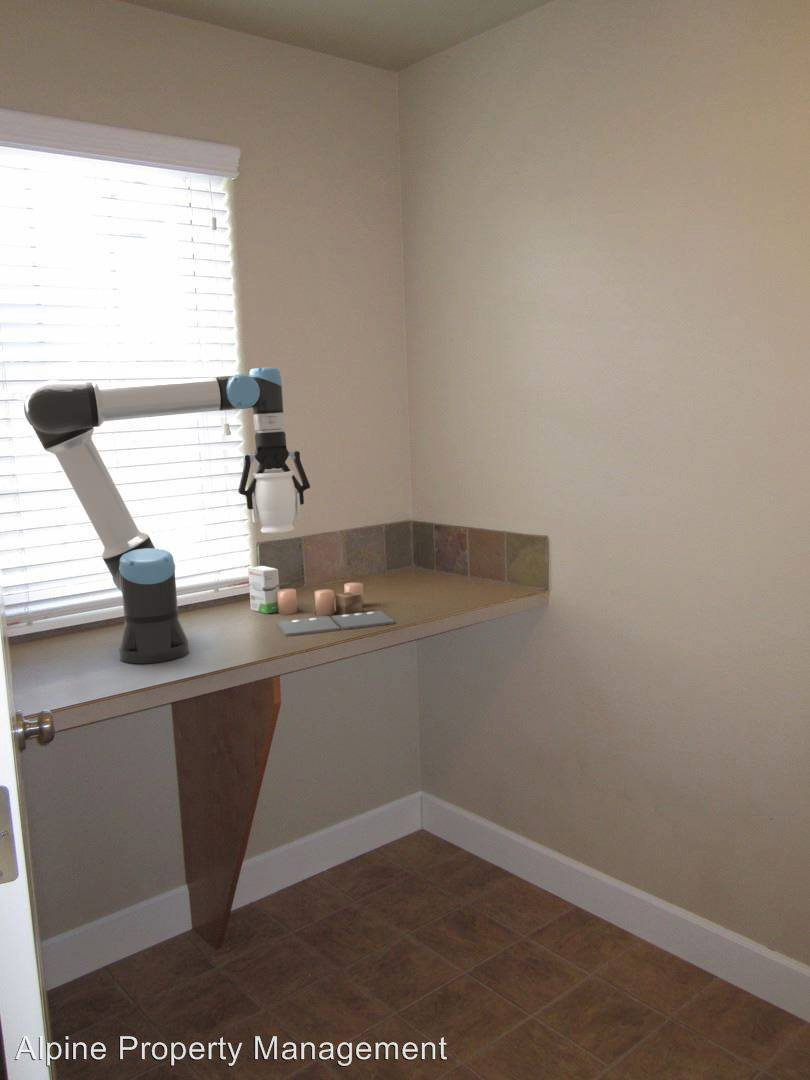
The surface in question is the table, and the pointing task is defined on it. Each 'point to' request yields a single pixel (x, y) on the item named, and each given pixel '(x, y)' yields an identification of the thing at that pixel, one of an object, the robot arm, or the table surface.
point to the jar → (275, 500)
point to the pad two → (307, 626)
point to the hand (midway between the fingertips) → (276, 519)
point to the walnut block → (348, 603)
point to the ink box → (263, 589)
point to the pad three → (362, 619)
